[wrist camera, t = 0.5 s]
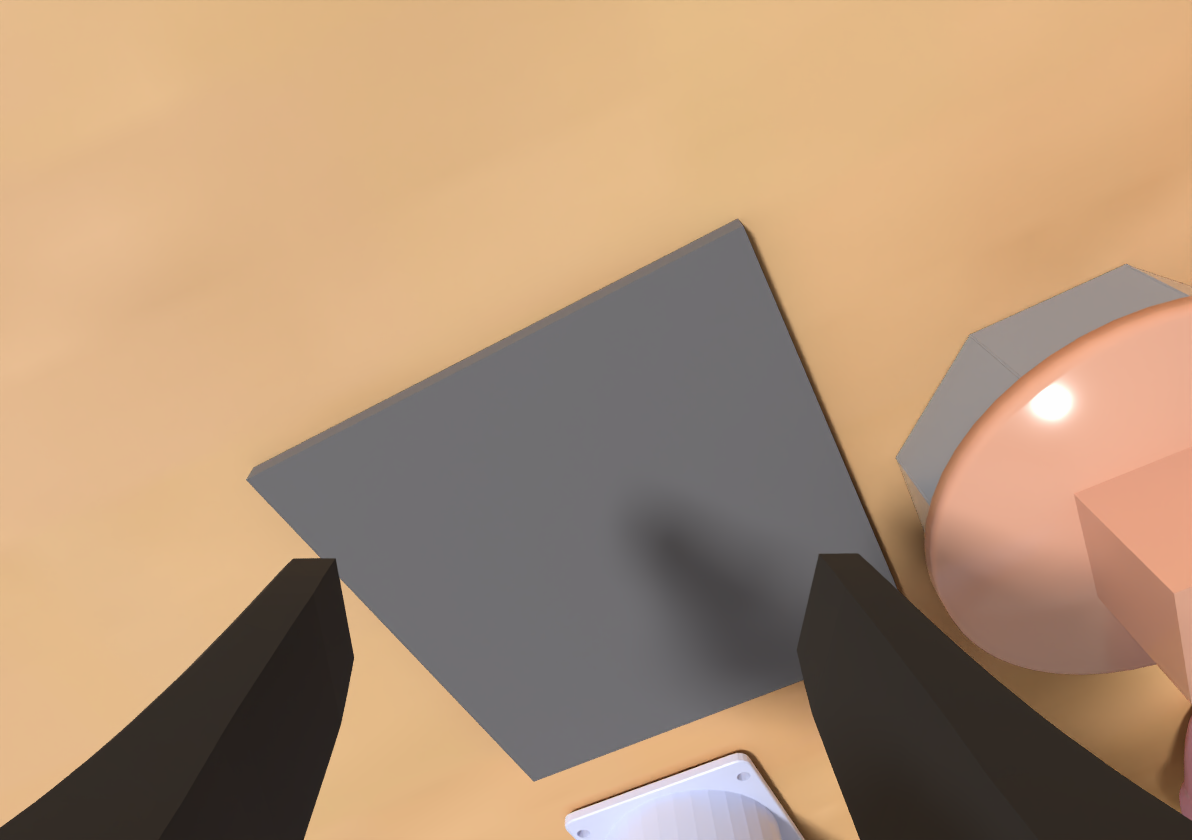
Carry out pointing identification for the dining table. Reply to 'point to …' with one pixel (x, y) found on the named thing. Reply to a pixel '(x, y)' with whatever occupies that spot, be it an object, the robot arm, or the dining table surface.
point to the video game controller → (1187, 776)
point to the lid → (1078, 507)
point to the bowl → (1016, 364)
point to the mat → (594, 510)
